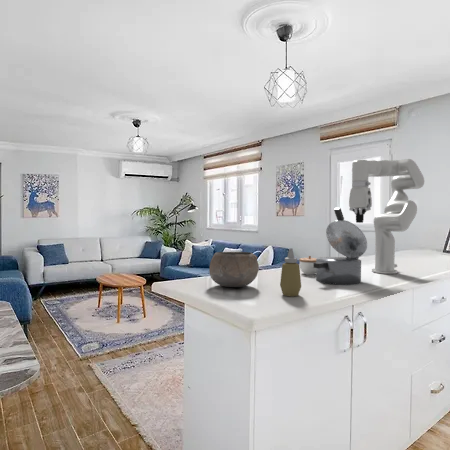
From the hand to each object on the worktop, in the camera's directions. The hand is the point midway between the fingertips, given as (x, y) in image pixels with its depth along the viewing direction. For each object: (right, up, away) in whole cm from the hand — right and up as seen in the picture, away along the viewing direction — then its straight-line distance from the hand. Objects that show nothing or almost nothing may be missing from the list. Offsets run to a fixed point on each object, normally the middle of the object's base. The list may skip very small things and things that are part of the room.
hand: (359, 222), depth 177 cm
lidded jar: (-22, -27, +10) cm, 36 cm away
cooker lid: (-10, -6, -8) cm, 14 cm away
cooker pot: (-16, -27, -11) cm, 34 cm away
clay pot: (-63, -28, -24) cm, 73 cm away
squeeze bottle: (-41, -29, -39) cm, 64 cm away
